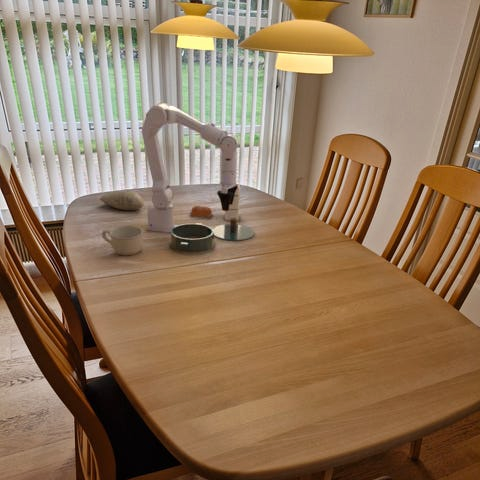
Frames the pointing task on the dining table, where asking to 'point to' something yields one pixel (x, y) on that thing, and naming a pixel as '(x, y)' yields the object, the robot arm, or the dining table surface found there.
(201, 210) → the bread
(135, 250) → the teacup
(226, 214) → the white toy tower
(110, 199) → the rock
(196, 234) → the pot
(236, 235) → the lid
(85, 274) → the dining table surface
